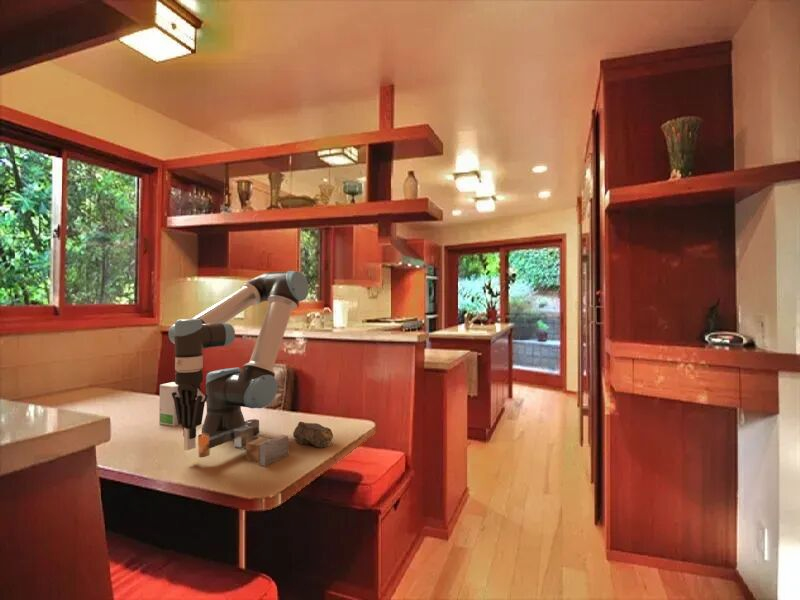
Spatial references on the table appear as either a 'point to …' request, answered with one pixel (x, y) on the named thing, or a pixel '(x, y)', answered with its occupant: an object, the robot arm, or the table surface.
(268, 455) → the grey piece
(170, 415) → the skincare box
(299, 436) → the rock
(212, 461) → the table surface
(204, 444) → the lever
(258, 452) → the tan cardboard box
